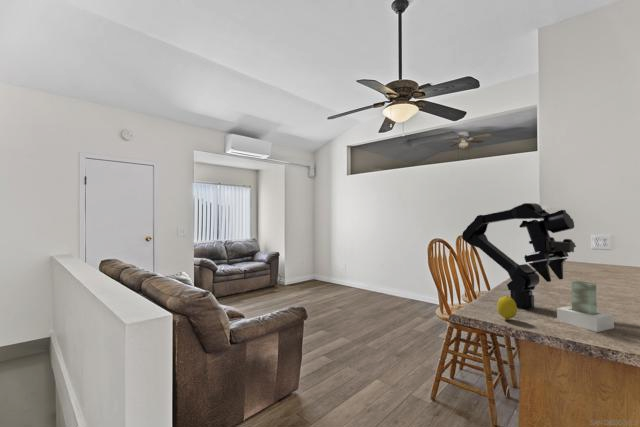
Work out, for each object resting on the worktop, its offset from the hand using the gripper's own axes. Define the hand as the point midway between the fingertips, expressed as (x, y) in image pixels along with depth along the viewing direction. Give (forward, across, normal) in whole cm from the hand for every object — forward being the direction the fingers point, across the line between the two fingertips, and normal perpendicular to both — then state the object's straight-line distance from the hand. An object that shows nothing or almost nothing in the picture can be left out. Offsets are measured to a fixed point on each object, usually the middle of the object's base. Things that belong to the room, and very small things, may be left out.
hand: (555, 280), depth 103 cm
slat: (+14, -2, -5) cm, 15 cm away
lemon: (+10, -19, +10) cm, 23 cm away
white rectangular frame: (+14, -2, -5) cm, 15 cm away
